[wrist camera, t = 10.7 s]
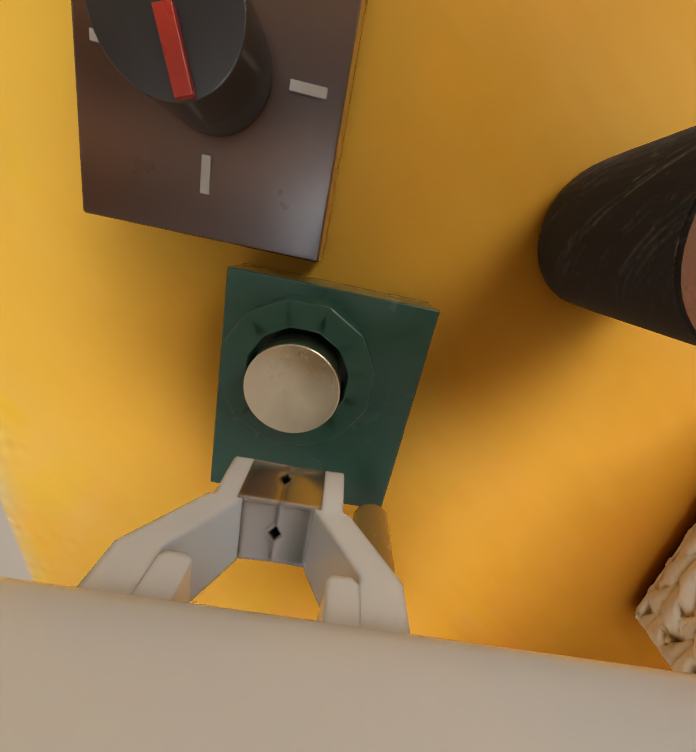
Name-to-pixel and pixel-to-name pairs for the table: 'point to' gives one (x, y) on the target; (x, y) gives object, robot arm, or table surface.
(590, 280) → the travel mug
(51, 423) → the table surface
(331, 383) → the power button
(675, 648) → the basket
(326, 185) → the dimmer
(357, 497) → the lamp base
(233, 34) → the dimmer knob
